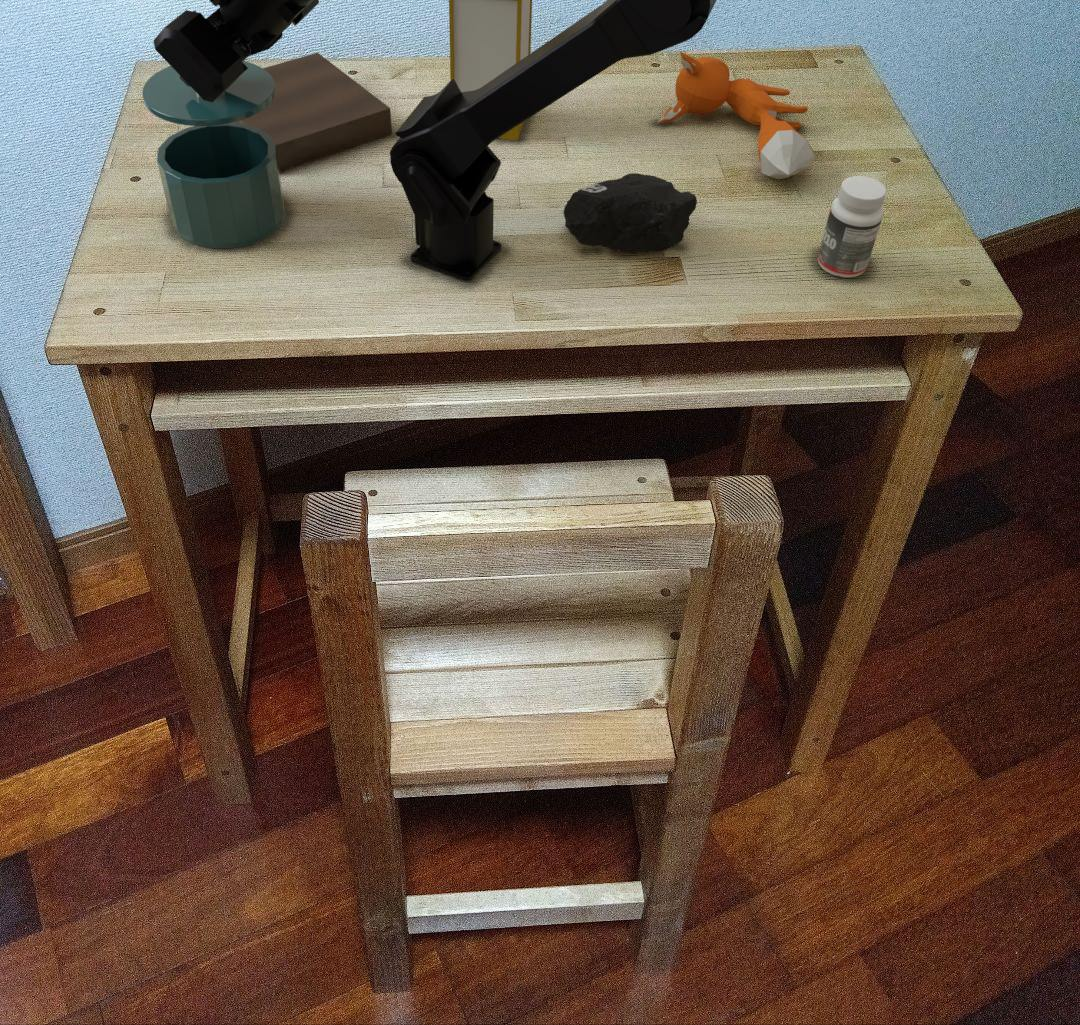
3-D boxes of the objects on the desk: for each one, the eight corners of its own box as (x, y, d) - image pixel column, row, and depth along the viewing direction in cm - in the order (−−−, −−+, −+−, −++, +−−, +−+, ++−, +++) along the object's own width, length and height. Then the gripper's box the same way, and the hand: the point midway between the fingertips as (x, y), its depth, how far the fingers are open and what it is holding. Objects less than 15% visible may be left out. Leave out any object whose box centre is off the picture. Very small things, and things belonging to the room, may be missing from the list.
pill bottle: (813, 248, 110) (833, 171, 104) (862, 251, 110) (885, 174, 104) (820, 277, 107) (841, 199, 101) (870, 280, 107) (894, 202, 101)
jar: (301, 196, 113) (292, 131, 108) (259, 257, 106) (247, 190, 101) (201, 179, 114) (188, 114, 109) (153, 238, 107) (136, 171, 102)
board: (392, 134, 122) (390, 108, 119) (275, 173, 116) (271, 146, 113) (320, 77, 129) (317, 52, 127) (207, 111, 123) (202, 85, 121)
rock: (621, 279, 106) (629, 225, 101) (554, 236, 110) (559, 182, 105) (693, 241, 111) (703, 188, 106) (627, 201, 115) (634, 148, 110)
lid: (297, 83, 106) (291, 27, 102) (238, 143, 98) (228, 85, 95) (186, 61, 108) (175, 6, 104) (119, 118, 101) (105, 61, 97)
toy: (779, 42, 128) (662, 31, 123) (879, 142, 114) (751, 134, 109) (754, 110, 134) (641, 102, 128) (846, 212, 120) (723, 209, 114)
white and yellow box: (440, 158, 119) (433, -81, 101) (465, 100, 127) (462, -130, 110) (508, 167, 118) (513, -73, 101) (528, 108, 127) (536, -123, 109)
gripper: (269, -157, 95) (177, -42, 105) (149, -77, 83) (59, 45, 93) (364, -44, 99) (266, 57, 109) (263, 48, 87) (164, 151, 97)
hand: (193, 74), depth 102 cm, fingers closed on lid, 3 cm apart
